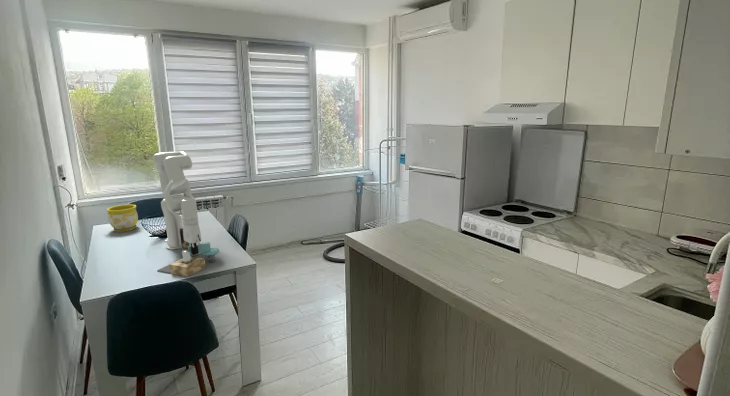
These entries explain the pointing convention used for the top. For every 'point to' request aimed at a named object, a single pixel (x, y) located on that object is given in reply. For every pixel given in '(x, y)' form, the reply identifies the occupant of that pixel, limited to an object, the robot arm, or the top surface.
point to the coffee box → (184, 242)
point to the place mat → (165, 269)
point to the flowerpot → (123, 217)
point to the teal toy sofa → (206, 251)
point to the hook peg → (186, 256)
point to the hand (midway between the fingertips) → (195, 253)
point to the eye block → (187, 266)
